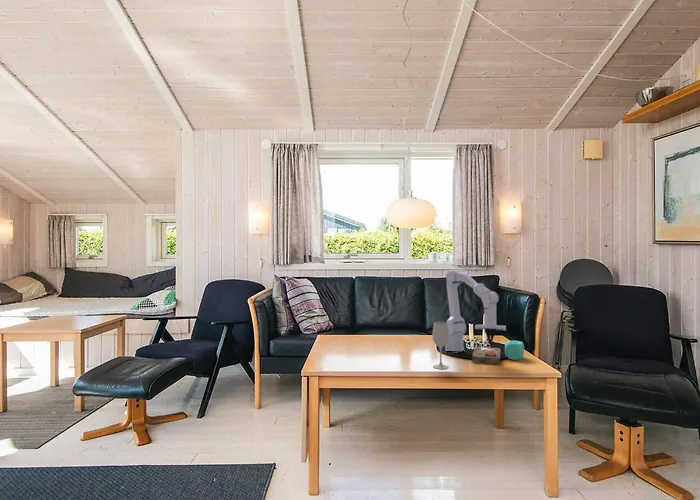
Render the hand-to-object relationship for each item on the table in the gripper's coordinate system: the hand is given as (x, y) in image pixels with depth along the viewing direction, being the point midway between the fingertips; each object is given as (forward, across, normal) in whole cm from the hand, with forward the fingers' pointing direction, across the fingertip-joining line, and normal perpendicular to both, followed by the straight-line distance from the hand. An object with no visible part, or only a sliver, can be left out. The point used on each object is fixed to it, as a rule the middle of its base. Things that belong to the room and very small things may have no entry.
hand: (490, 344), depth 222 cm
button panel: (+8, -2, +5) cm, 10 cm away
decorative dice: (+9, +11, +10) cm, 17 cm away
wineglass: (+8, -22, -18) cm, 30 cm away
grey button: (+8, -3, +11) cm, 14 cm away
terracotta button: (+6, 0, 0) cm, 6 cm away
